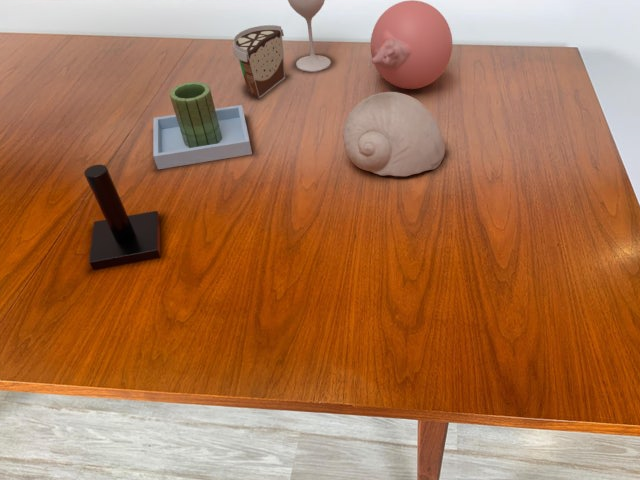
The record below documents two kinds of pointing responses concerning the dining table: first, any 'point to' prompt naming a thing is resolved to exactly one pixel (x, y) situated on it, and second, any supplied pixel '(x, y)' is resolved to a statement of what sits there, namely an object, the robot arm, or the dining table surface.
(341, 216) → the dining table surface
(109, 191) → the post
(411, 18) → the balloon
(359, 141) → the seashell
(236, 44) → the food container
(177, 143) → the tray
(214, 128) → the ring sleeve
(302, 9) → the wineglass
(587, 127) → the dining table surface
